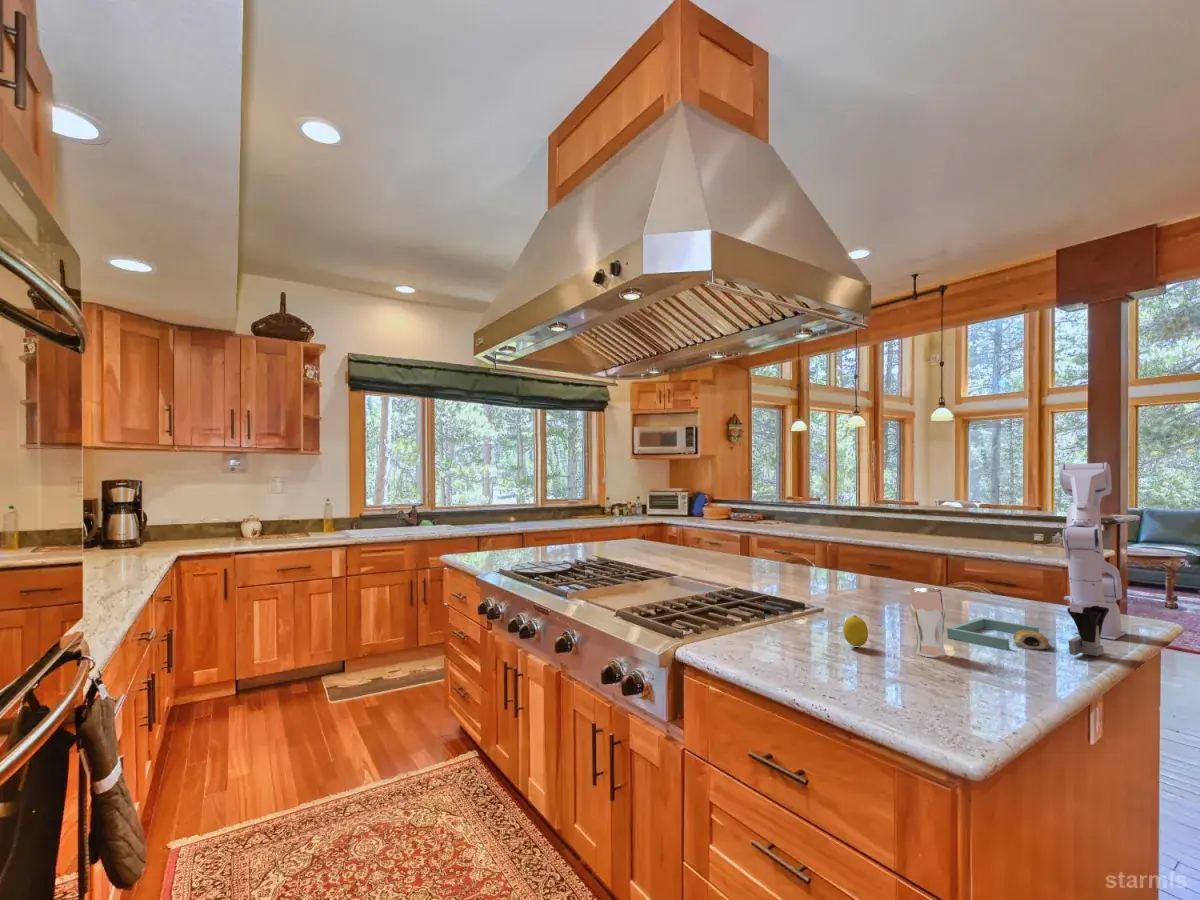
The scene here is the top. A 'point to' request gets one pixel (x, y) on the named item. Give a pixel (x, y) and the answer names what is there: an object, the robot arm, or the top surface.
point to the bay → (968, 635)
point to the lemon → (855, 631)
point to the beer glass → (928, 620)
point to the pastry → (1030, 640)
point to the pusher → (1086, 646)
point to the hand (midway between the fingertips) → (1090, 640)
